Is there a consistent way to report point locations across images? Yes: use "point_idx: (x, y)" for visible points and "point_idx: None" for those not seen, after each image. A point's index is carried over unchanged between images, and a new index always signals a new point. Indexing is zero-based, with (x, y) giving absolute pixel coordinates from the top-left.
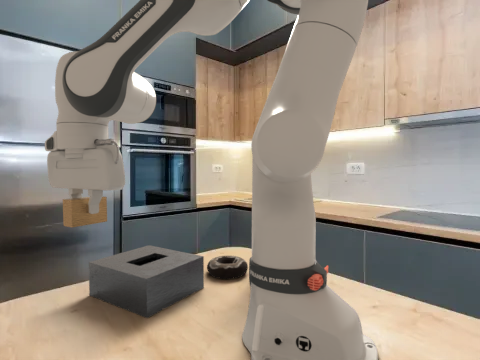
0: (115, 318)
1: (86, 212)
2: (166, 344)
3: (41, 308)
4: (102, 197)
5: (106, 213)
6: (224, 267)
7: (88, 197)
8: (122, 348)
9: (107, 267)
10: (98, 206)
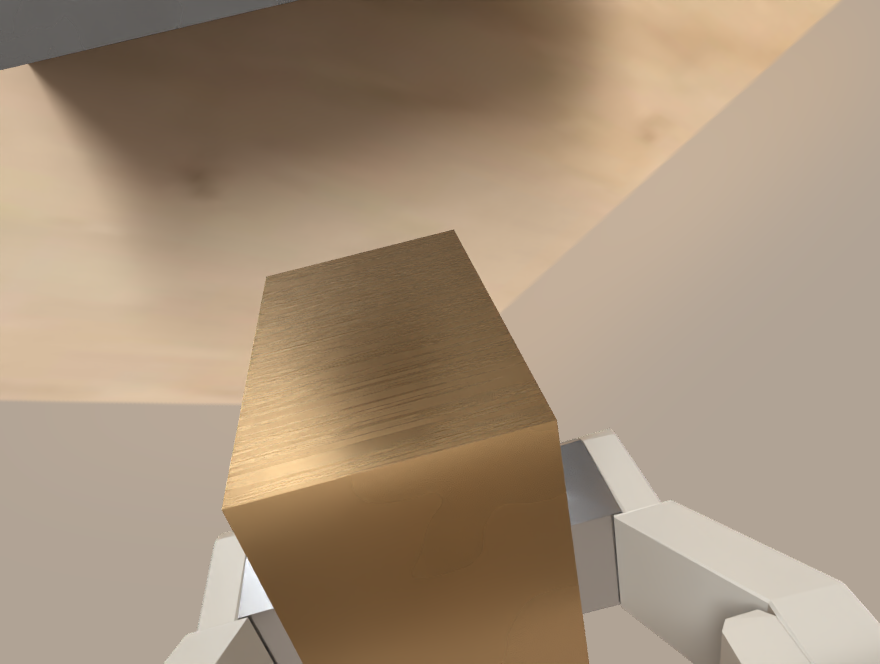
0: (412, 66)
1: None
2: (746, 7)
3: (77, 288)
4: (559, 486)
5: (480, 279)
6: None
7: (411, 655)
8: (636, 142)
9: (165, 29)
10: (645, 479)
